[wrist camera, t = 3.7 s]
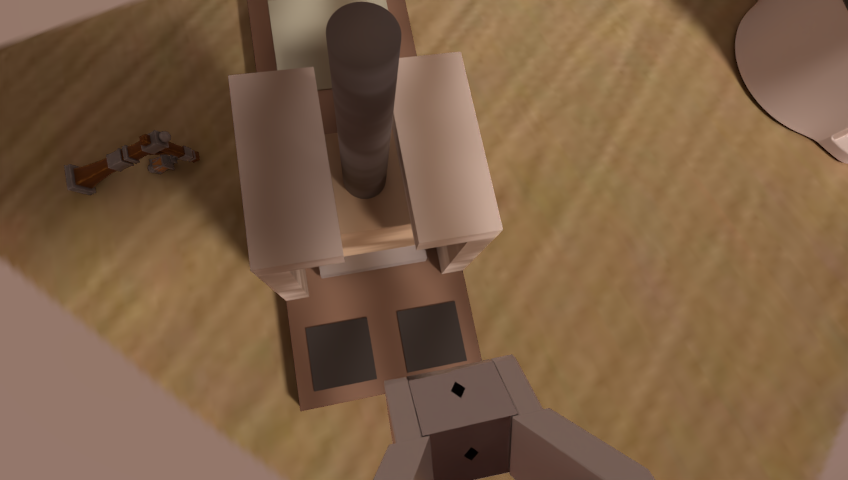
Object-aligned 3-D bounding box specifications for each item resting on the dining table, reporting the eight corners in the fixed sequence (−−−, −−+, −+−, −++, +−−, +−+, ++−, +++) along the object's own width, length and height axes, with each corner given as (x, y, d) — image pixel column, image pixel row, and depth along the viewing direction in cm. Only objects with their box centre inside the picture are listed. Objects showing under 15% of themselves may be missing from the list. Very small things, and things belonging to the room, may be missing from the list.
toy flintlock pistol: (211, 163, 35) (161, 143, 31) (123, 203, 37) (64, 189, 33) (206, 140, 35) (156, 117, 31) (120, 180, 37) (60, 164, 33)
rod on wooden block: (404, 153, 36) (445, -75, 17) (425, 261, 34) (496, 133, 15) (305, 166, 35) (237, -63, 16) (321, 278, 33) (266, 163, 14)
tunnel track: (399, -7, 41) (412, -153, 30) (479, 372, 34) (537, 375, 23) (250, 5, 39) (202, -145, 28) (303, 409, 32) (268, 432, 21)
